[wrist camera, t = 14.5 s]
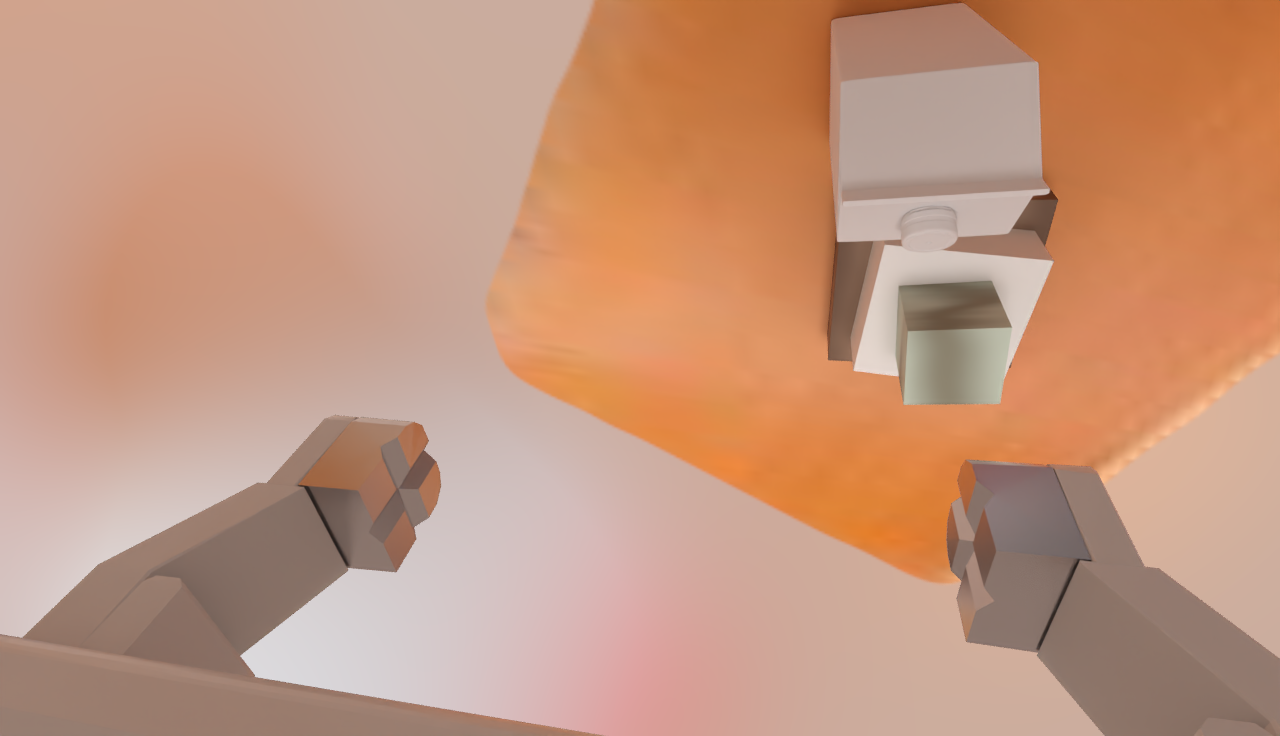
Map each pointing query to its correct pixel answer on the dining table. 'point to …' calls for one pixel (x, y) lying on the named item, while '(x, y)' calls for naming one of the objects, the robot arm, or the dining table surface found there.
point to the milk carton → (931, 127)
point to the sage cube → (951, 343)
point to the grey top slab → (997, 258)
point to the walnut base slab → (855, 261)
